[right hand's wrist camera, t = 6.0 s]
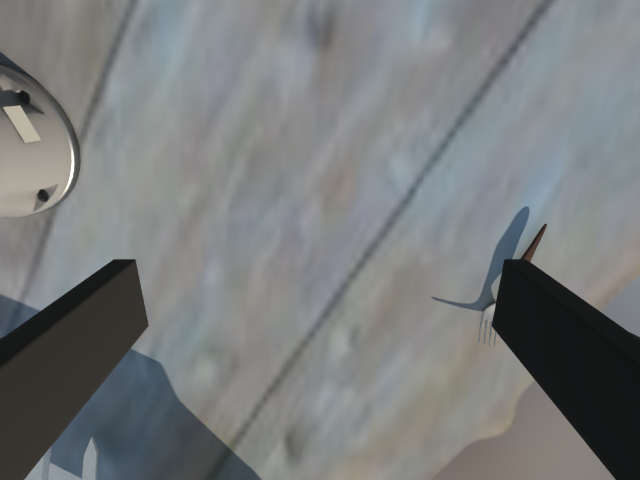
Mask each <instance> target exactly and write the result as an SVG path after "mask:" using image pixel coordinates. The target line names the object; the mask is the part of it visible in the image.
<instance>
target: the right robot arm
mask: <svg viewBox="0 0 640 480" xmlns="http://www.w3.org/2000/svg"><path fill="white" fill-rule="evenodd" d="M79 170H80V149H79V144H78V140H77V137H76V133H75V131H74V128H73V126H72V124H71V122H70V120H69V118H68V116H67V115H66V113H65V111H64V110H63V109H62V107H61V106H60V104H59V103H58V102H57V101H56V99H55V98H54V97H53V96H52V95H51V94H50V93H49V92H48V91H47V90H46V89H45V88H44V87H42V86H41V85H40V84H39V83H37V82H36V81H35V80H33V79H32V78H30V77H29V76H27V75H25V74H23V73H22V72H20V71H18V70H15V69H13V68H11V67H8V66H5V65H1V64H0V217H21V216H28V215H33V214H36V213H40V212H42V211H45V210H48V209H50V208H53V207H54V206H56V205H58V204H59V203H61V202H62V201H63V200H64V199H65V198H66V197H67V196H68V195H69V194H70V193H71V191H72V189H73V188H74V186H75V184H76V181H77V178H78V175H79ZM148 326H149V325H148V320H147V315H146V310H145V305H144V300H143V295H142V290H141V285H140V280H139V275H138V270H137V265H136V260H135V259H114V260H112V261H111V262H110V263H108V264H107V265H105V266H104V267H103V268H101V269H100V270H98V271H97V272H95V273H94V274H93V275H91V276H90V277H88V278H87V279H86V280H84V281H83V282H81V283H80V284H79V285H77V286H76V287H74V288H73V289H71V290H70V291H69V292H67V293H66V294H64V295H63V296H62V297H60V298H59V299H57V300H56V301H54V302H53V303H52V304H50V305H49V306H47V307H46V308H45V309H43V310H42V311H40V312H39V313H38V314H36V315H35V316H33V317H32V318H30V319H29V320H28V321H26V322H25V323H23V324H22V325H21V326H19V327H18V328H16V329H15V330H13V331H12V332H11V333H9V334H8V335H6V336H5V337H3V338H1V339H0V480H24V479H25V478H26V477H27V476H28V474H29V473H30V472H31V471H32V469H33V468H34V467H35V466H36V464H37V463H38V462H39V461H40V459H41V458H42V457H43V456H44V454H45V453H46V452H47V451H48V450H49V448H50V447H51V446H52V445H53V443H54V442H55V441H56V440H57V438H58V437H59V436H60V435H61V433H62V432H63V431H64V430H65V429H66V427H67V426H68V425H69V424H70V422H71V421H72V420H73V419H74V417H75V416H76V415H77V414H78V412H79V411H80V410H81V409H82V407H83V406H84V405H85V404H86V403H87V401H88V400H89V399H90V398H91V396H92V395H93V394H94V393H95V391H96V390H97V389H98V388H99V386H100V385H101V384H102V383H103V382H104V380H105V379H106V378H107V377H108V375H109V374H110V373H111V372H112V370H113V369H114V368H115V367H116V365H117V364H118V363H119V362H120V360H121V359H122V358H123V357H124V356H125V354H126V353H127V352H128V351H129V349H130V348H131V347H132V346H133V344H134V343H135V342H136V341H137V339H138V338H139V337H140V336H141V334H142V333H143V332H144V331H145V330H146V328H147V327H148ZM491 326H492V327H493V328H494V330H495V331H496V332H497V333H498V334H499V336H500V337H501V338H502V339H503V341H504V342H505V343H506V344H507V346H508V347H509V348H510V349H511V351H512V352H513V353H514V354H515V356H516V357H517V358H518V359H519V360H520V362H521V363H522V364H523V365H524V367H525V368H526V369H527V370H528V372H529V373H530V374H531V375H532V377H533V378H534V379H535V380H536V382H537V383H538V384H539V385H540V386H541V388H542V389H543V390H544V391H545V393H546V394H547V395H548V396H549V398H550V399H551V400H552V401H553V403H554V404H555V405H556V406H557V407H558V409H559V410H560V411H561V412H562V414H563V415H564V416H565V417H566V419H567V420H568V421H569V422H570V424H571V425H572V426H573V427H574V429H575V430H576V431H577V432H578V433H579V435H580V436H581V437H582V438H583V440H584V441H585V442H586V443H587V445H588V446H589V447H590V448H591V450H592V451H593V452H594V453H595V454H596V456H597V457H598V458H599V459H600V461H601V462H602V463H603V464H604V466H605V467H606V468H607V469H608V471H609V472H610V473H611V474H612V476H613V477H614V478H615V479H616V480H640V337H638V336H636V335H634V334H632V333H630V332H628V331H627V330H625V329H624V328H622V327H621V326H619V325H618V324H617V323H615V322H614V321H612V320H611V319H610V318H608V317H607V316H605V315H604V314H602V313H601V312H600V311H598V310H597V309H595V308H594V307H593V306H591V305H590V304H588V303H587V302H586V301H584V300H583V299H581V298H580V297H578V296H577V295H576V294H574V293H573V292H571V291H570V290H569V289H567V288H566V287H564V286H563V285H561V284H560V283H559V282H557V281H556V280H554V279H553V278H552V277H550V276H549V275H547V274H546V273H545V272H543V271H542V270H540V269H539V268H537V267H536V266H535V265H533V264H532V263H530V262H529V261H528V260H526V259H505V260H504V265H503V270H502V275H501V280H500V285H499V290H498V295H497V300H496V305H495V310H494V315H493V320H492V325H491Z"/></svg>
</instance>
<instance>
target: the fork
mask: <svg viewBox="0 0 640 480" xmlns="http://www.w3.org/2000/svg"><path fill="white" fill-rule="evenodd" d="M546 226H547V224H545V225H544V226H543V227H542V228H541V230H540V231H539V233H538V234H537V236H536V237H535V239H534V240H533V242H532V243H531V245H530V246H529V248H528V249H527V251H526V252H525V253H524V255H523V256H522V258H521V259H526V260H528V261H529V262H530V261H531V259H532V257H533V254H534V252H535V250H536V248H537V246H538V244H539V242H540V240H541V238H542V235H543V233H544V231H545V229H546ZM495 305H496V302H495V303H493V304H491V305H490V306H488V307H487V308H486V309H485V310H484V311H483V313H482V317H481V323H480V331H479V341H478V343H480V337H481V332H482V327H483V323H484V321H486V325H485V333H484V344H485V339H486V334H487V329H488V325H489V323H491V325H492V320H493V315H494V310H495ZM492 331H493V327H492V326H491V327H490V336H489V346H490V341H491V336H492ZM496 338H497V332H496V331H495V339H494V347H495V344H496Z"/></svg>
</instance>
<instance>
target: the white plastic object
mask: <svg viewBox="0 0 640 480" xmlns="http://www.w3.org/2000/svg"><path fill="white" fill-rule="evenodd" d="M51 447H52V446H51ZM51 447H50V448H49V450H48V451H47V452H46V453H45V454H44V456H43V457H42V458H41V459H40V461H39V462H38V463H37V464H36V466H35V467H34V468H33V469H32V471H31V472H30V473H29V474H28V476H27V480H48V476H49V466H50V456H51ZM97 466H98V448H97V445H96V442H95V439H94V436H93V437H91V439H90V442H89V444H88V447H87V449H86V452H85V454H84V459H83V474H82V480H97Z"/></svg>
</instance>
